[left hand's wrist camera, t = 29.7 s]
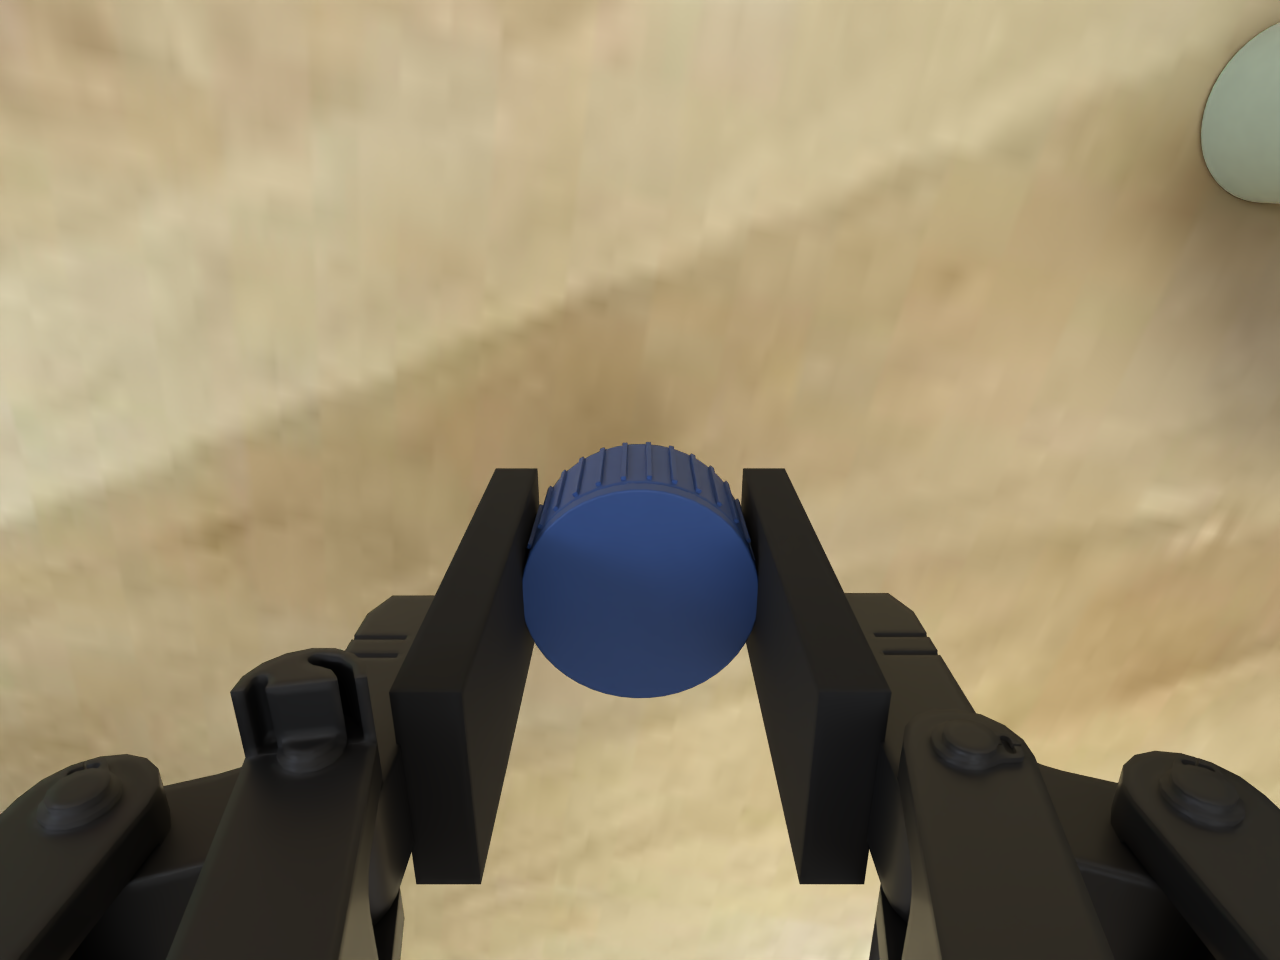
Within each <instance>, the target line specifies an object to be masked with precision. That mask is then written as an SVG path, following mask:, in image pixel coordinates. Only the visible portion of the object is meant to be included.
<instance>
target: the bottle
mask: <svg viewBox="0 0 1280 960" xmlns="http://www.w3.org/2000/svg"><path fill="white" fill-rule="evenodd" d="M1201 145H1202V151H1203V156H1204V159H1205V162H1206V165H1207V167H1208V169H1209V171H1210V173H1211V175H1212V176H1213V178H1214V179H1215V180H1216V182H1217V183H1218V184H1219V185H1220V186H1221V187H1222V188H1224V189H1225V190H1226V191H1227V192H1229V193H1230V194H1232V195H1234V196H1236V197H1238V198H1240V199H1243V200H1247V201H1251V202H1259V203H1277V204H1280V22H1279V23H1277V24H1275V25H1273V26H1271V27H1269V28H1267V29H1266V30H1264V31H1263V32H1261V33H1259V34H1258V35H1257V36H1255V37H1254V38H1253V39H1252V40H1250V41H1249V42H1248V43H1247V44H1246V45H1245V46H1244V47H1243V48H1241V49H1240V50H1239V51H1238V52H1237V53H1236V54H1235V56H1234V57H1233V58H1232V59H1231V60H1230V61H1229V63H1228V64H1227V65H1226V67H1225V68H1224V70H1223V71H1222V72H1221V74H1220V75H1219V77H1218V79H1217V81H1216V83H1215V84H1214V86H1213V88H1212V91H1211V93H1210V95H1209V98H1208V100H1207V104H1206V107H1205V110H1204V115H1203V120H1202V128H1201Z"/></svg>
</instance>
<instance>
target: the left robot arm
mask: <svg viewBox="0 0 1280 960" xmlns="http://www.w3.org/2000/svg"><path fill="white" fill-rule="evenodd" d="M538 508H539V490H538V471H537V469H495V472H494V474H493V476H492V478H491V480H490V482H489V484H488V486H487V488H486V490H485V492H484V494H483V497H482V499H481V501H480V503H479V505H478V507H477V509H476V511H475V513H474V515H473V517H472V520H471V522H470V524H469V526H468V528H467V530H466V532H465V534H464V536H463V538H462V540H461V543H460V545H459V547H458V549H457V551H456V553H455V555H454V557H453V559H452V561H451V563H450V566H449V568H448V570H447V572H446V574H445V576H444V578H443V580H442V582H441V584H440V586H439V589H438V591H437V593H436V595H435V596H391V597H390V598H389V599H387V600H386V601H385V602H383V603H382V604H381V605H379V606H378V607H376V608H375V609H374V610H372V611H371V612H370V613H368V614H367V616H366V617H365V619H364V621H363V622H362V624H361V626H360V627H359V629H358V630H357V632H356V634H355V635H354V637H355V638H354V640H351V642H350V644H349V645H348V647H347V648H346V650H345V651H343V650H340V649H336V648H311V649H306V650H301V651H296V652H291V653H286V654H284V655H281V656H279V657H276V658H274V659H271V660H269V661H266V662H264V663H262V664H260V665H259V666H257V667H256V668H254V669H253V670H251V671H250V672H249V673H247V674H246V675H244V676H243V677H242V678H241V679H240V680H239V682H238V683H237V684H236V685H235V687H234V688H233V689H232V690H231V692H230V693H231V697H232V702H233V706H234V710H235V714H236V719H237V723H238V727H239V732H240V736H241V740H242V744H243V749H244V753H245V757H246V758H245V760H244V763H243V765H242V767H240V768H237V769H234V770H231V771H227V772H224V773H220V774H217V775H212V776H208V777H203V778H199V779H194V780H190V781H185V782H181V783H176V784H172V785H167V786H163V784H162V780H161V777H160V773H159V770H158V768H157V767H156V766H155V765H154V764H153V763H151V762H150V761H149V760H148V759H147V758H143V757H138V756H133V755H128V754H123V755H113V756H102V757H97V758H94V759H91V760H87V761H84V762H80V763H77V764H74V765H71V766H69V767H67V768H65V769H63V770H61V771H59V772H57V773H55V774H53V775H51V776H49V777H47V778H45V779H43V780H41V781H40V782H39V783H37V784H36V785H35V786H33V787H32V788H31V789H29V790H28V791H27V792H25V793H24V794H23V795H21V796H20V797H19V798H17V799H16V800H15V801H14V802H13V803H12V804H11V805H10V806H9V807H8V808H7V809H6V810H5V811H4V812H3V813H2V814H0V960H400V957H401V947H402V937H403V927H404V912H403V905H402V898H401V892H400V885H401V882H402V879H403V876H404V873H405V870H406V867H407V864H408V861H409V858H410V855H411V852H412V857H413V864H414V871H415V878H416V884H481V881H482V877H483V872H484V868H485V863H486V859H487V854H488V850H489V845H490V841H491V836H492V831H493V827H494V822H495V818H496V813H497V809H498V804H499V800H500V795H501V791H502V786H503V782H504V777H505V773H506V768H507V764H508V759H509V755H510V750H511V746H512V741H513V737H514V732H515V728H516V723H517V719H518V714H519V710H520V705H521V701H522V696H523V692H524V687H525V683H526V678H527V674H528V669H529V665H530V660H531V656H532V651H533V647H534V640H533V638H532V636H531V635H530V632H529V630H528V627H527V625H526V622H525V616H524V602H523V585H522V576H523V572H524V567H525V564H526V560H527V557H528V553H529V550H530V549H528V548H527V545H528V541H529V538H530V535H531V531H532V528H533V524H534V521H535V518H536V514H537V511H538ZM741 509H742V512H743V515H744V519H745V522H746V525H747V529H748V532H749V535H750V539H751V542H750V544H751V547H752V551H753V554H754V558H755V566H756V570H757V574H758V594H757V610H756V620H755V623H754V626H753V629H752V631H751V633H750V635H749V637H748V639H747V641H746V645H747V649H748V654H749V658H750V663H751V667H752V672H753V676H754V681H755V685H756V690H757V694H758V699H759V703H760V708H761V712H762V717H763V721H764V726H765V730H766V735H767V739H768V744H769V748H770V753H771V757H772V762H773V766H774V771H775V775H776V780H777V784H778V789H779V793H780V798H781V802H782V807H783V811H784V816H785V820H786V825H787V829H788V834H789V838H790V843H791V847H792V852H793V856H794V861H795V865H796V870H797V874H798V879H799V883H800V884H864V881H865V874H866V867H867V860H868V853H869V849H870V852H871V855H872V858H873V861H874V864H875V867H876V870H877V873H878V876H879V879H880V882H881V885H880V892H879V898H878V905H877V911H876V918H875V924H874V931H873V937H872V944H871V950H870V957H869V960H1280V809H1279V808H1278V807H1277V806H1276V805H1275V804H1274V803H1273V802H1271V801H1270V800H1269V799H1268V798H1267V797H1266V796H1265V795H1264V794H1263V793H1261V792H1260V791H1259V790H1257V789H1256V788H1255V787H1253V786H1252V785H1251V784H1249V783H1248V782H1247V781H1245V780H1244V779H1243V778H1241V777H1240V776H1238V775H1236V774H1234V773H1232V772H1230V771H1228V770H1226V769H1224V768H1222V767H1220V766H1218V765H1216V764H1214V763H1212V762H1208V761H1205V760H1202V759H1200V758H1195V757H1192V756H1188V755H1185V754H1182V753H1172V752H1161V751H1152V752H1147V753H1142V754H1137V755H1134V756H1133V757H1132V758H1131V759H1130V760H1129V761H1128V762H1127V763H1126V764H1124V765H1123V768H1122V772H1121V775H1120V779H1119V782H1118V783H1115V782H1110V781H1106V780H1101V779H1097V778H1092V777H1088V776H1083V775H1079V774H1074V773H1070V772H1065V771H1061V770H1058V769H1054V768H1051V767H1047V766H1044V765H1041V764H1039V763H1037V761H1036V759H1035V756H1034V755H1033V753H1032V752H1031V750H1030V749H1029V748H1028V746H1027V745H1026V743H1025V742H1024V740H1023V739H1022V738H1020V737H1019V736H1018V735H1016V734H1015V733H1014V732H1013V731H1011V730H1010V729H1009V728H1007V727H1006V726H1005V725H1003V724H1001V723H998V722H996V721H994V720H992V719H990V718H988V717H985V716H983V715H981V714H976V713H975V711H974V709H973V708H972V706H971V704H970V703H969V701H968V700H967V698H966V696H965V695H964V693H963V691H962V690H961V688H960V686H959V685H958V683H957V682H956V680H955V678H954V677H953V675H952V673H951V672H950V670H949V669H948V667H947V665H946V664H945V662H944V660H943V659H942V657H941V656H940V655H938V654H937V649H936V647H935V646H934V644H933V643H932V641H931V639H930V638H929V637H927V635H926V631H925V630H924V628H923V626H922V625H921V623H920V621H919V620H918V618H917V617H916V615H915V613H914V612H913V611H912V610H911V609H909V608H908V607H906V606H905V605H904V604H902V603H901V602H900V601H898V600H897V599H895V598H894V597H893V596H891V595H890V594H889V593H844V592H843V589H842V587H841V585H840V583H839V581H838V579H837V577H836V575H835V573H834V571H833V569H832V566H831V564H830V562H829V560H828V558H827V556H826V554H825V552H824V550H823V548H822V546H821V544H820V541H819V539H818V537H817V535H816V533H815V531H814V529H813V527H812V525H811V523H810V521H809V518H808V516H807V514H806V512H805V510H804V508H803V506H802V504H801V502H800V500H799V498H798V495H797V493H796V491H795V489H794V487H793V485H792V483H791V481H790V479H789V477H788V475H787V473H786V470H785V469H743V481H742V500H741Z"/></svg>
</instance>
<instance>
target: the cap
mask: <svg viewBox="0 0 1280 960" xmlns="http://www.w3.org/2000/svg"><path fill="white" fill-rule="evenodd" d="M750 542H751V539H750V535H749V532H748V529H747V525H746V522H745V519H744V515H743V512H742V509H741V505H740V502H739V500H738V499H736V500H735V499H734V497H733V495H732V494H731V490H730V487H729V484H728V482H727V481H725V482H723V481H722V480H721V479H720V477H719V476H718V475H717V474H715V471H714V468H713V467H712V466H709V467H707V466H706V465H705V464H703V463H702V462H700V461H699V460H697V459H696V458H695V455H693V454H690V455H688V454H686V453H683V452H680V451H678V450H675V449H674V447H673V446H669V448H667V447H663V446H658V445H651V442H646V444H630V445H628V444H627V443H623V446H617V447H613V448H609V449H606V450H605V448H601V449H600V452H598V453H595V454H593V455H590V456H589V457H587V458H584V457H582V458H580V459H579V462H578V463H577V464H576V465H574V466H573V467H572V468H571V469H569V470H568V471H566V470H564V471H563V472H562V474H561V478H560V479H559V480H558V481H557V483H556V484H555V485H554V487H552V486H550V487H549V488H548V491H547V494H546V498H545V501H544V504H543V505H541V504H540V505H539V508H538V511H537V514H536V518H535V521H534V524H533V528H532V531H531V535H530V538H529V541H528V545H527V548H528V549H530V550H529V553H528V557H527V560H526V564H525V567H524V572H523V576H522V585H523V602H524V616H525V622H526V625H527V627H528V630H529V632H530V635H531V636H532V638H533V640H534V642H535V643H536V645H537V647H538V648H539V649H540V651H541V652H542V653H543V655H544V656H545V657H546V658H547V659H548V660H549V661H550V662H551V663H552V664H553V665H554V666H555V667H556V668H557V669H558V670H560V671H561V672H562V673H564V674H565V675H566V676H568V677H569V678H571V679H573V680H574V681H576V682H578V683H579V684H582V685H584V686H586V687H588V688H590V689H593V690H596V691H599V692H602V693H605V694H610V695H614V696H619V697H629V698H652V697H660V696H666V695H671V694H675V693H679V692H682V691H684V690H687V689H690V688H693V687H695V686H697V685H699V684H701V683H703V682H705V681H706V680H708V679H709V678H711V677H713V676H714V675H716V674H717V673H718V672H720V671H721V670H722V669H723V668H724V667H726V666H727V665H728V664H729V663H730V662H731V661H732V660H733V658H734V657H735V656H736V655H737V654H738V653H739V651H740V650H741V648H742V647H743V646H744V644H745V643H746V641H747V639H748V637H749V635H750V633H751V631H752V629H753V626H754V623H755V620H756V610H757V594H758V574H757V570H756V566H755V558H754V554H753V551H752V547H751V544H750Z"/></svg>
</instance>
